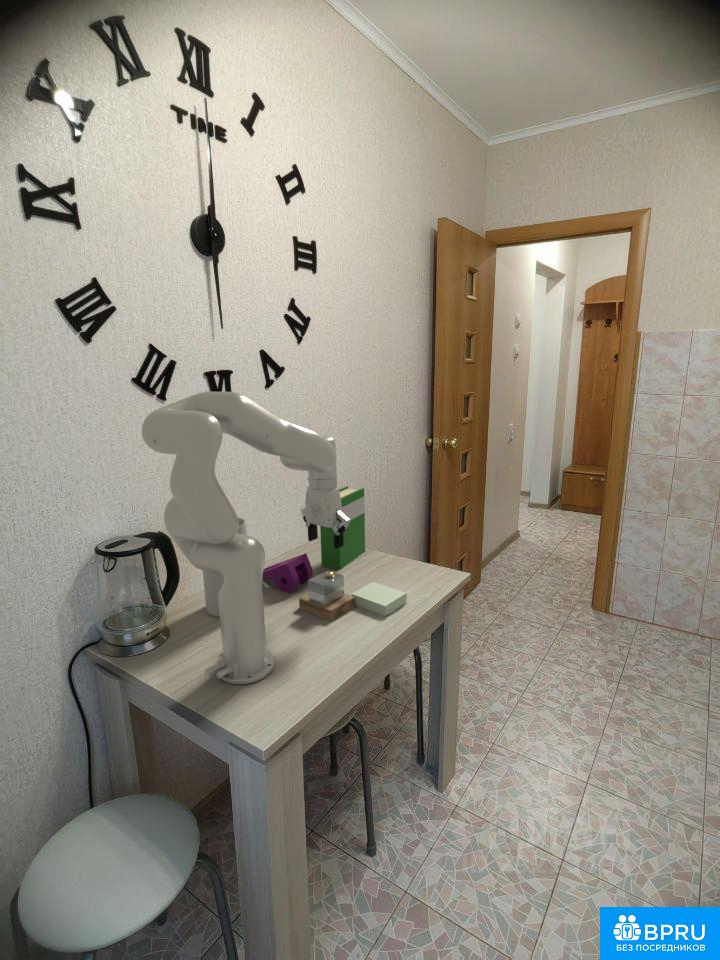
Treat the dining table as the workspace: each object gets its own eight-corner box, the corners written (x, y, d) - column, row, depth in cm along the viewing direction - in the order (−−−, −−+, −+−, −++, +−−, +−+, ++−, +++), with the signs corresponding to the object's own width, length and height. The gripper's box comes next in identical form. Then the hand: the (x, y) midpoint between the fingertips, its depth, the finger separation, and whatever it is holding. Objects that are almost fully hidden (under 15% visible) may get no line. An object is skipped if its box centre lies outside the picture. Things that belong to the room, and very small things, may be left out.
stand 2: (385, 616, 133) (385, 606, 132) (351, 603, 140) (351, 593, 139) (406, 602, 140) (406, 592, 139) (373, 591, 148) (373, 581, 147)
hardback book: (347, 548, 182) (346, 486, 177) (365, 551, 179) (364, 488, 173) (321, 565, 167) (319, 497, 162) (340, 569, 164) (338, 500, 158)
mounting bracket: (258, 601, 155) (297, 590, 145) (247, 577, 155) (286, 563, 145) (277, 590, 163) (316, 578, 153) (267, 566, 163) (306, 553, 153)
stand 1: (330, 621, 131) (330, 610, 130) (299, 607, 138) (299, 598, 137) (354, 606, 138) (354, 597, 137) (324, 595, 146) (323, 585, 145)
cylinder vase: (236, 593, 148) (230, 514, 142) (260, 606, 139) (254, 522, 134) (198, 608, 139) (189, 524, 133) (221, 623, 131) (213, 534, 125)
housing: (324, 606, 133) (323, 582, 131) (309, 599, 136) (308, 576, 135) (344, 595, 139) (343, 572, 137) (328, 589, 142) (328, 567, 141)
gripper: (290, 481, 133) (294, 540, 137) (337, 490, 122) (340, 555, 126) (309, 475, 138) (313, 533, 142) (357, 484, 127) (358, 546, 132)
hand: (325, 543), depth 134 cm, fingers open, 9 cm apart
